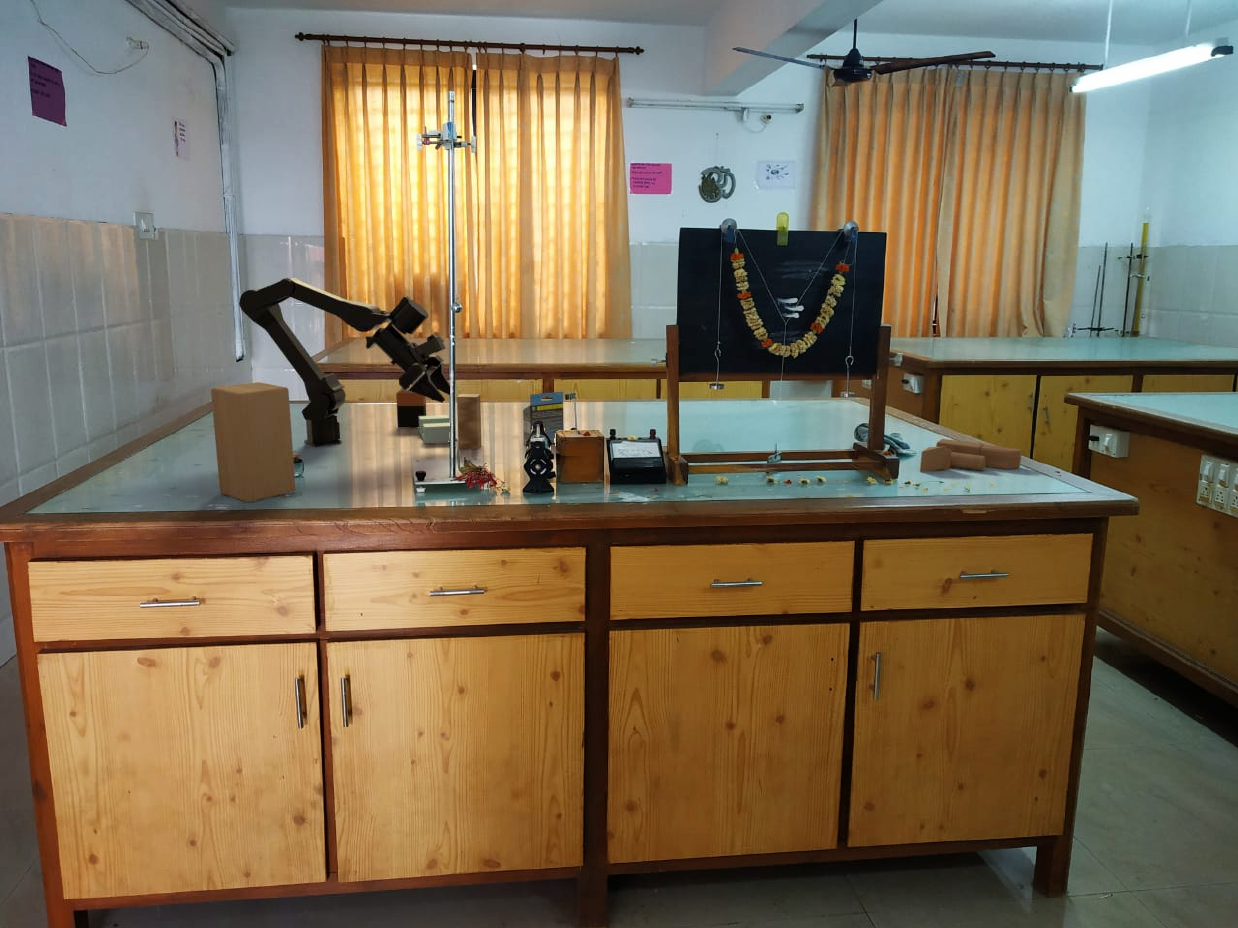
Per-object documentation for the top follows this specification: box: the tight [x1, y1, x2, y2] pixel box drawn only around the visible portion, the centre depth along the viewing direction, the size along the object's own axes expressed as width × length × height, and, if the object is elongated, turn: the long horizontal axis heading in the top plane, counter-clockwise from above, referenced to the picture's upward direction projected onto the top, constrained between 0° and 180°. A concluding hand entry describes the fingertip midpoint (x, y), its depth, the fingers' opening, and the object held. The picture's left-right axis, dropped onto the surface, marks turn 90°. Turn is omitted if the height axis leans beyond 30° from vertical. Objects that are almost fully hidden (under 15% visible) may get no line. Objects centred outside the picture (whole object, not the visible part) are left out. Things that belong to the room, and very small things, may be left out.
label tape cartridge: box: [522, 391, 565, 445], centre depth 221 cm, size 9×4×12 cm, turn 123°
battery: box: [395, 387, 427, 428], centre depth 240 cm, size 4×7×10 cm, turn 94°
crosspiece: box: [418, 414, 451, 445], centre depth 228 cm, size 14×7×4 cm, turn 17°
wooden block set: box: [919, 438, 1023, 473], centre depth 202 cm, size 17×6×18 cm
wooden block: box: [210, 381, 296, 503], centre depth 175 cm, size 10×10×20 cm
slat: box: [456, 393, 483, 450], centre depth 217 cm, size 4×4×12 cm
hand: (448, 397), depth 216 cm, fingers open, 9 cm apart
